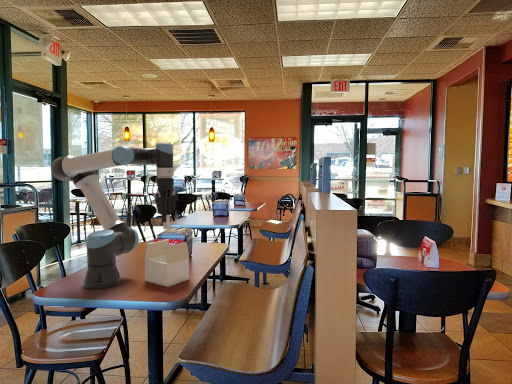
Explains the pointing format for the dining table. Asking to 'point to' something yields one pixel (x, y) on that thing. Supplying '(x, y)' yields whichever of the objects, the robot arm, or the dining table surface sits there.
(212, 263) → the dining table surface
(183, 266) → the carton
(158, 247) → the far flap
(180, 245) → the near flap
